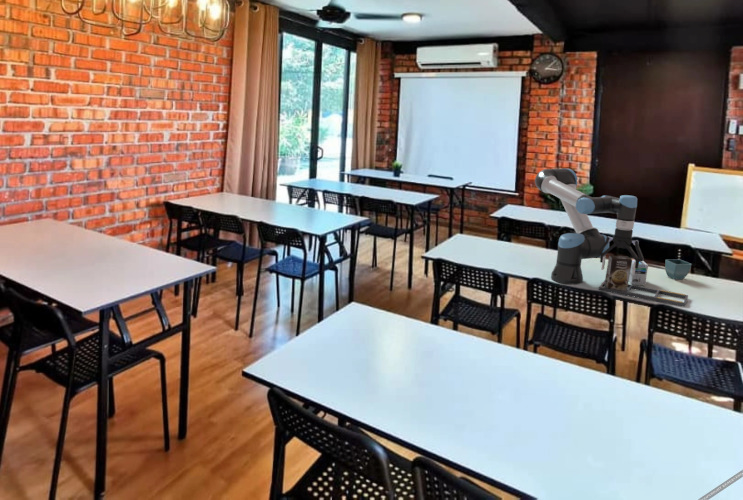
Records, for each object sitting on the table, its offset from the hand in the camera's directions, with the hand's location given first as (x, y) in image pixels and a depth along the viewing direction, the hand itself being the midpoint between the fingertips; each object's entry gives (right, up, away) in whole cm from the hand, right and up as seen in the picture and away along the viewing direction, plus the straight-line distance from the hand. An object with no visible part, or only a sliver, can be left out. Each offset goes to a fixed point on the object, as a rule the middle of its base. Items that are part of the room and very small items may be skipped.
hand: (617, 271), depth 254 cm
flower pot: (+40, -4, +21) cm, 46 cm away
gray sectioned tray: (+10, -10, -4) cm, 15 cm away
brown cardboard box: (0, -9, +2) cm, 9 cm away
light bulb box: (+15, -6, +14) cm, 22 cm away
